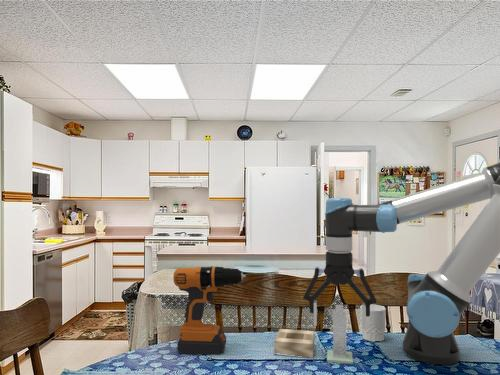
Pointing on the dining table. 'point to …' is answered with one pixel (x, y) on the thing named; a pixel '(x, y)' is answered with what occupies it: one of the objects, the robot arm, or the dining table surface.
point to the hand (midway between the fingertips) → (339, 326)
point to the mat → (338, 360)
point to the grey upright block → (339, 333)
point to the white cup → (374, 323)
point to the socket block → (295, 342)
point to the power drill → (202, 307)
